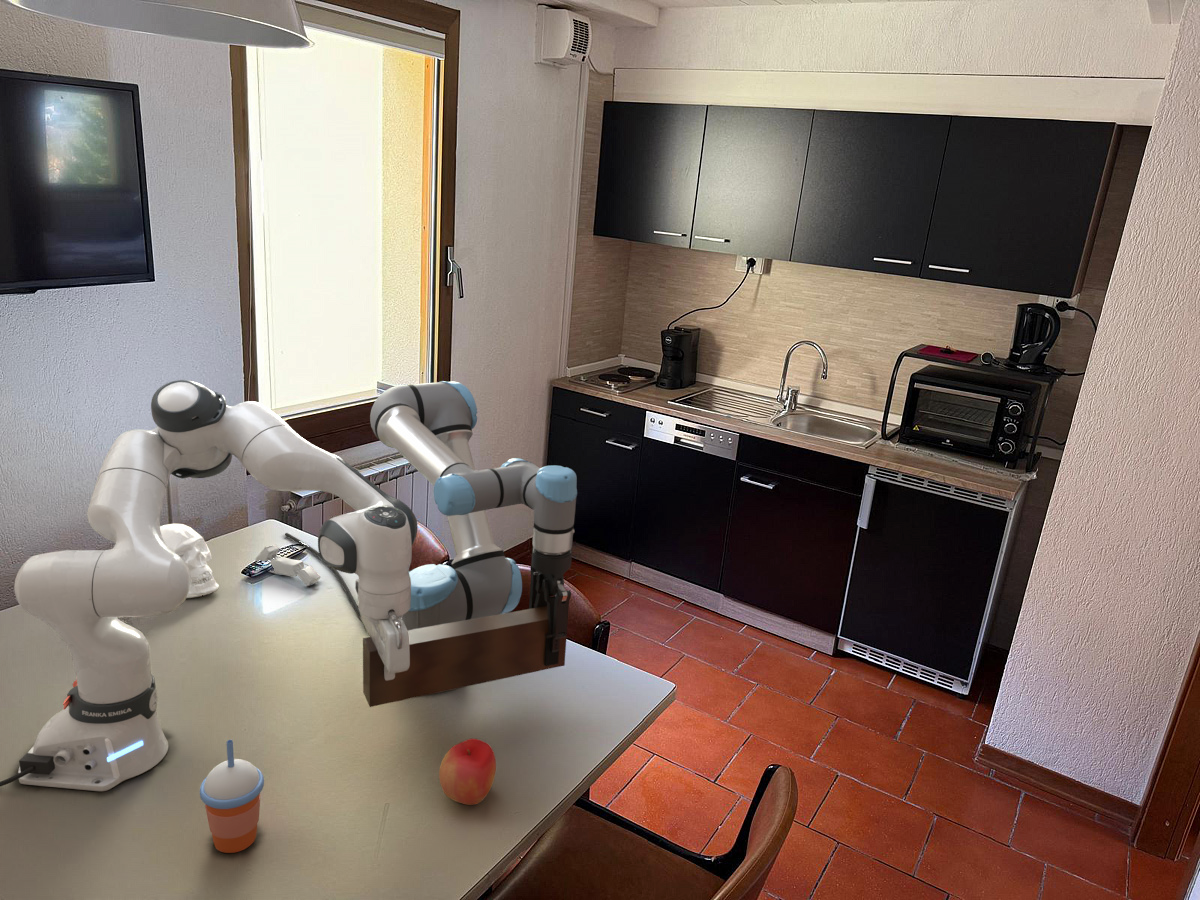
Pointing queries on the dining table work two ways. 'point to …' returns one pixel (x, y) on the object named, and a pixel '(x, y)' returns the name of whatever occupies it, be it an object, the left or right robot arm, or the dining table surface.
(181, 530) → the skull
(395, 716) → the dining table surface
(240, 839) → the cup with straw
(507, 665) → the walnut beam
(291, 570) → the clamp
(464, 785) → the apple
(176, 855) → the dining table surface
